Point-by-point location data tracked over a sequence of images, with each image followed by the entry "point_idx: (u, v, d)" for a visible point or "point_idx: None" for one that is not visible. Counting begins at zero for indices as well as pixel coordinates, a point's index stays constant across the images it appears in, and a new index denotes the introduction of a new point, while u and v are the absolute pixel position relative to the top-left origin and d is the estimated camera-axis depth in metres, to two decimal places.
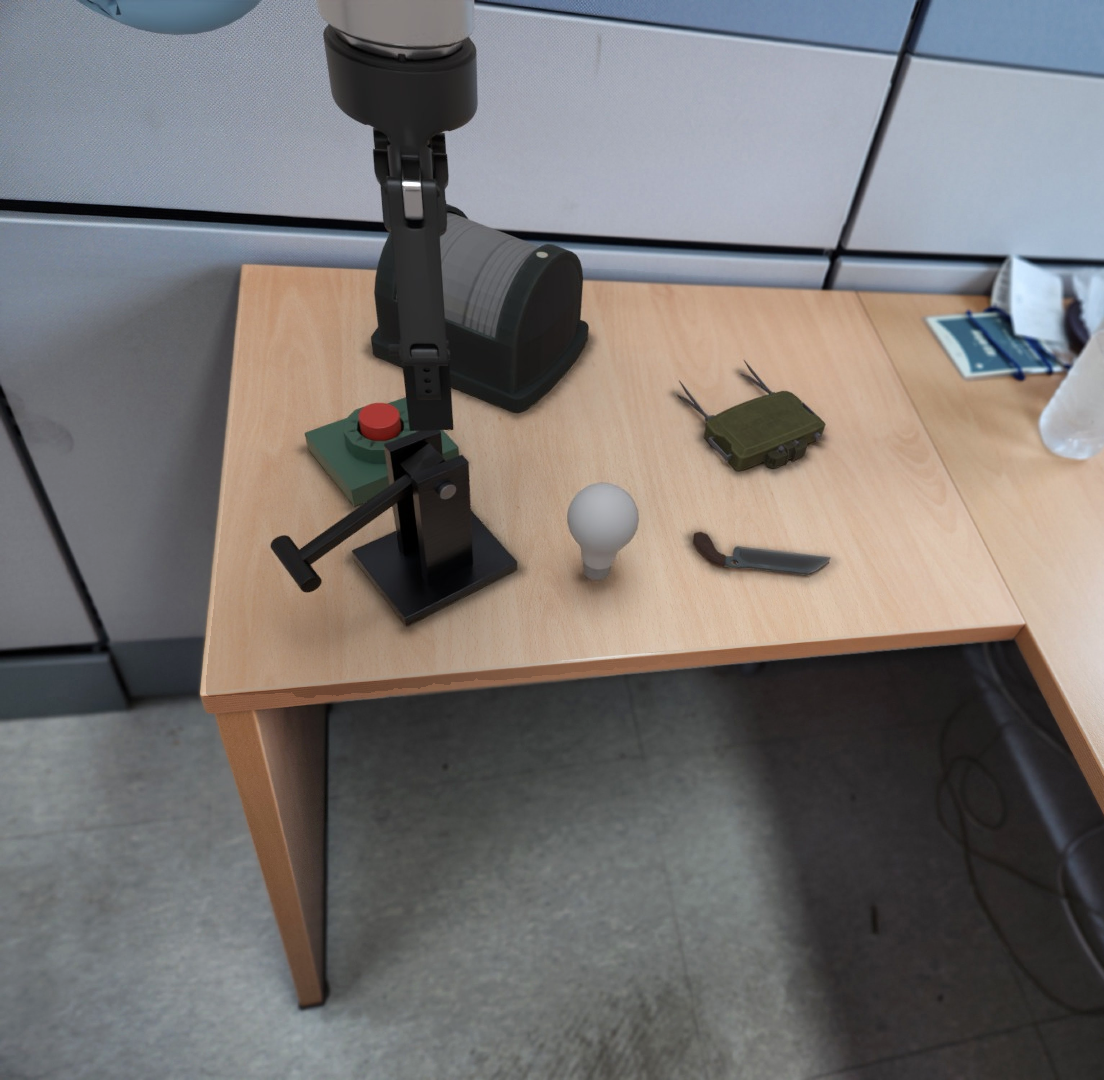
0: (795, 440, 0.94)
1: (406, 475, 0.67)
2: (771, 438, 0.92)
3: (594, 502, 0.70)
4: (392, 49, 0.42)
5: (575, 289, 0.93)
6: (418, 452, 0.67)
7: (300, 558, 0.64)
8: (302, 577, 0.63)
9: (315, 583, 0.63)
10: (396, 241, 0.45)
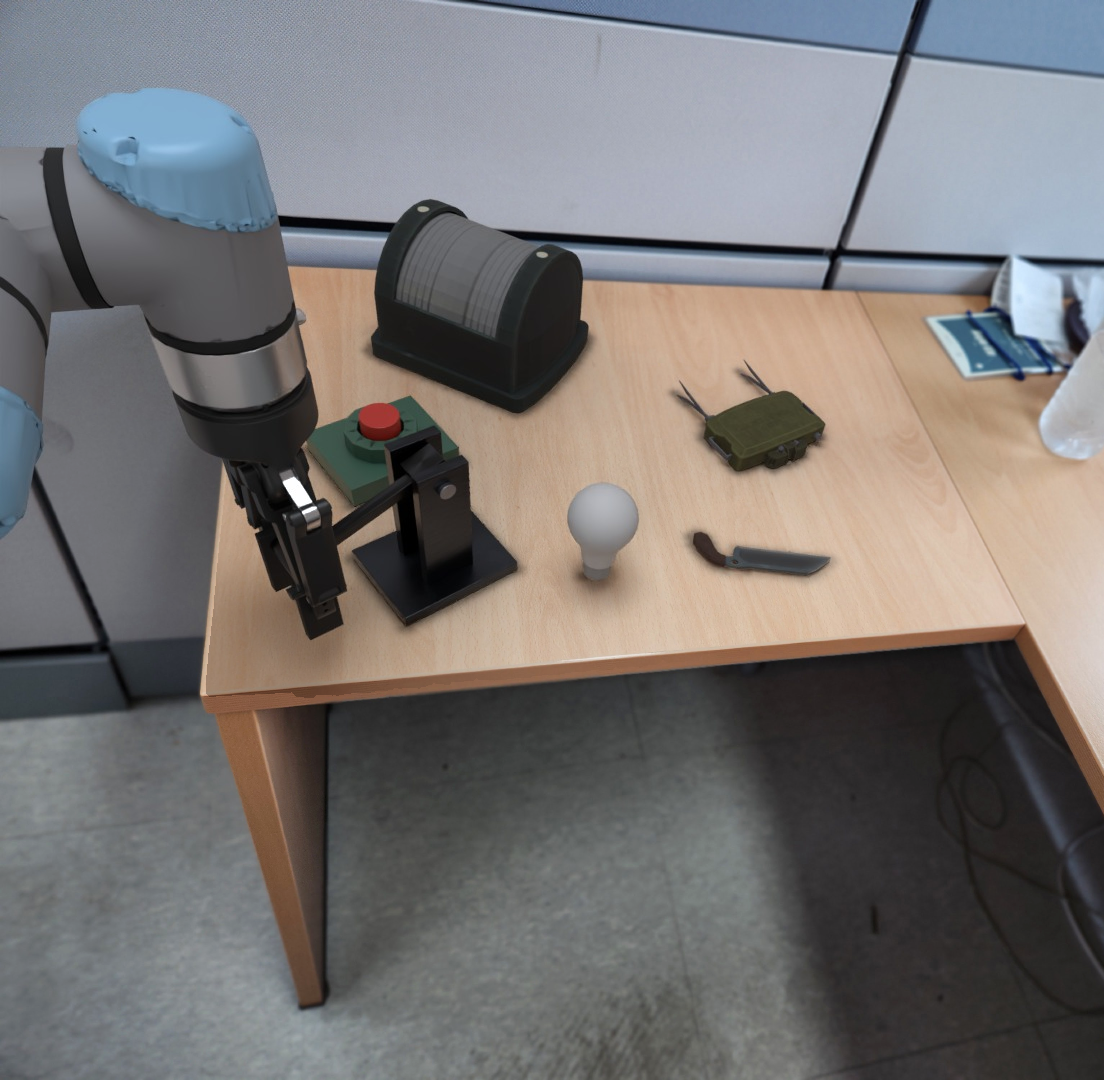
0: (795, 440, 0.94)
1: (406, 475, 0.67)
2: (771, 438, 0.92)
3: (594, 502, 0.70)
4: None
5: (575, 289, 0.93)
6: (418, 452, 0.67)
7: None
8: None
9: None
10: (301, 547, 0.55)
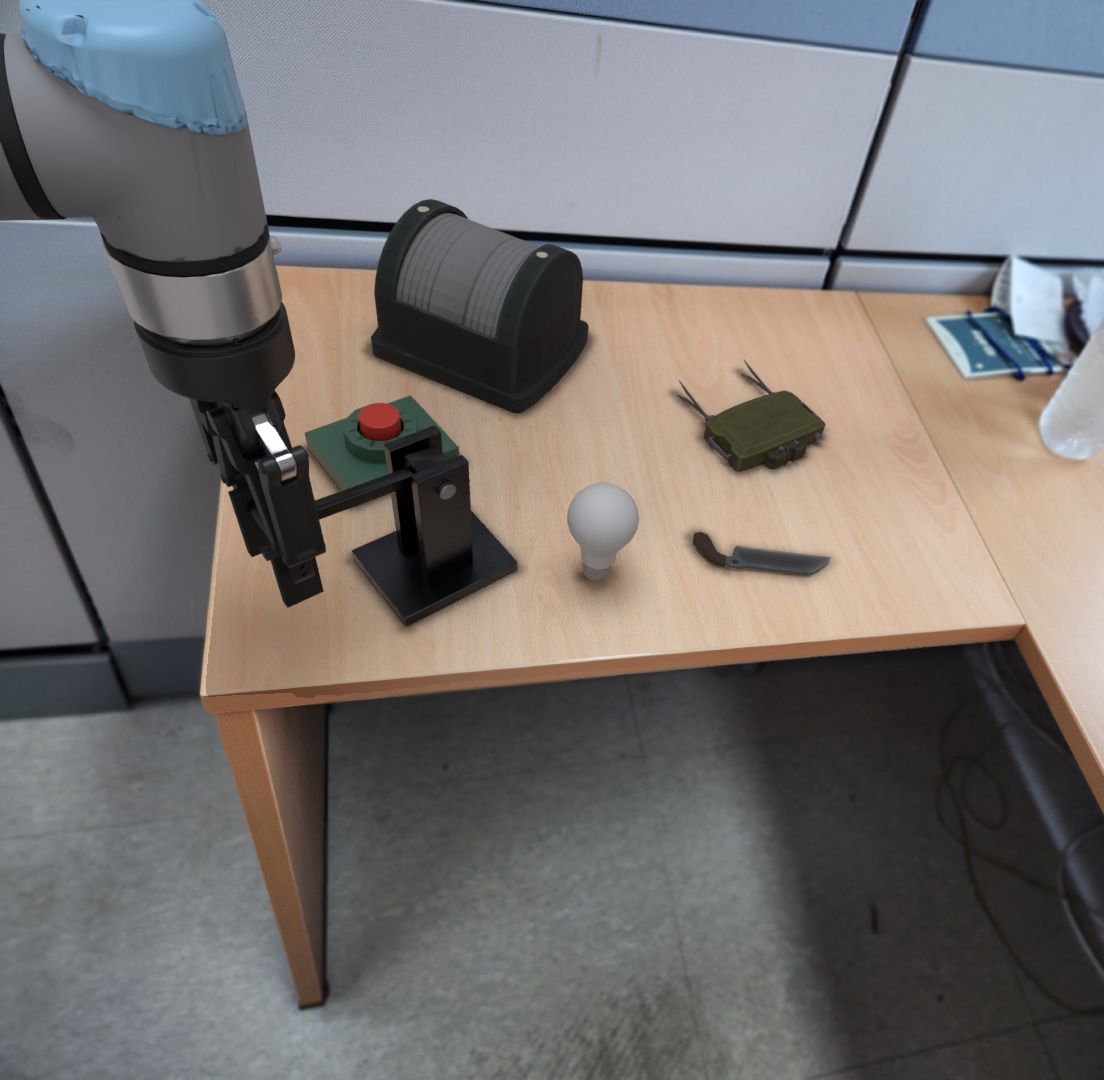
0: (795, 440, 0.94)
1: (407, 469, 0.66)
2: (771, 438, 0.92)
3: (594, 502, 0.70)
4: (226, 337, 0.45)
5: (575, 289, 0.93)
6: (424, 450, 0.67)
7: None
8: None
9: None
10: (275, 498, 0.51)
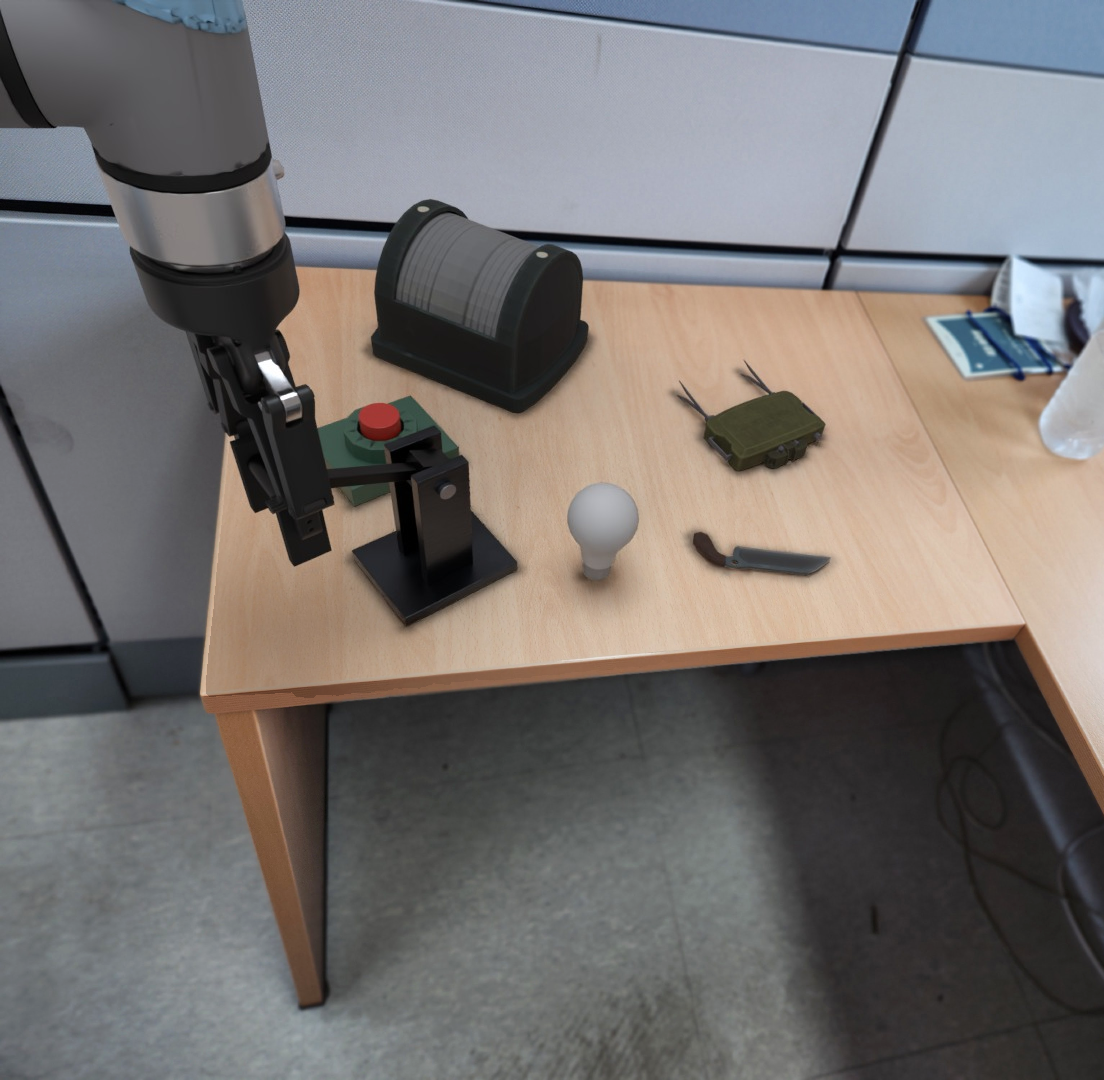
0: (795, 440, 0.94)
1: (409, 463, 0.66)
2: (771, 438, 0.92)
3: (594, 502, 0.70)
4: (227, 265, 0.43)
5: (575, 289, 0.93)
6: (428, 450, 0.67)
7: None
8: None
9: None
10: (280, 442, 0.48)
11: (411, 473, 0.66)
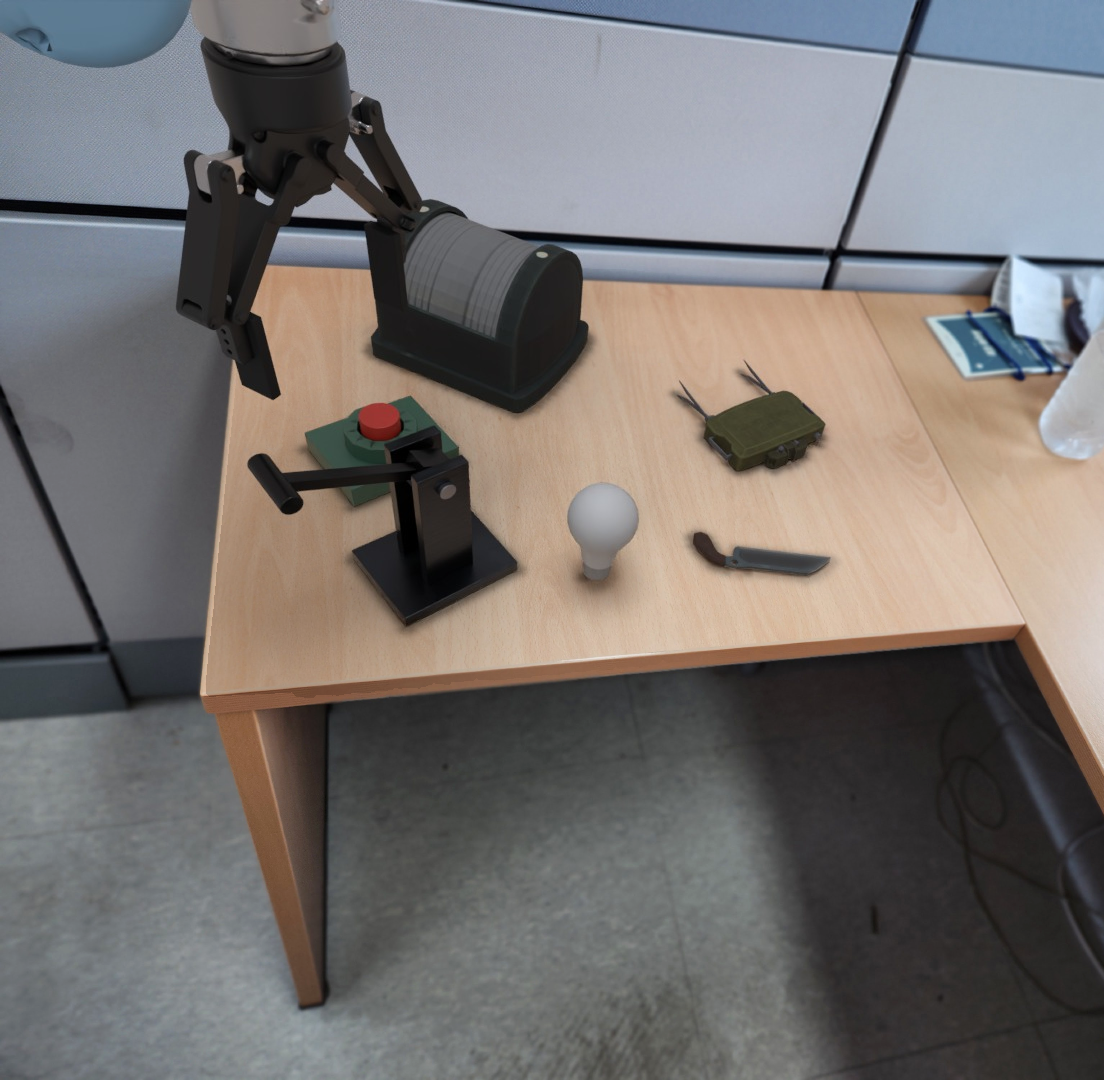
0: (795, 440, 0.94)
1: (409, 463, 0.66)
2: (771, 438, 0.92)
3: (594, 502, 0.70)
4: (222, 46, 0.46)
5: (575, 289, 0.93)
6: (428, 450, 0.67)
7: (287, 479, 0.58)
8: (290, 493, 0.57)
9: (295, 507, 0.57)
10: (190, 207, 0.49)
11: (411, 473, 0.66)
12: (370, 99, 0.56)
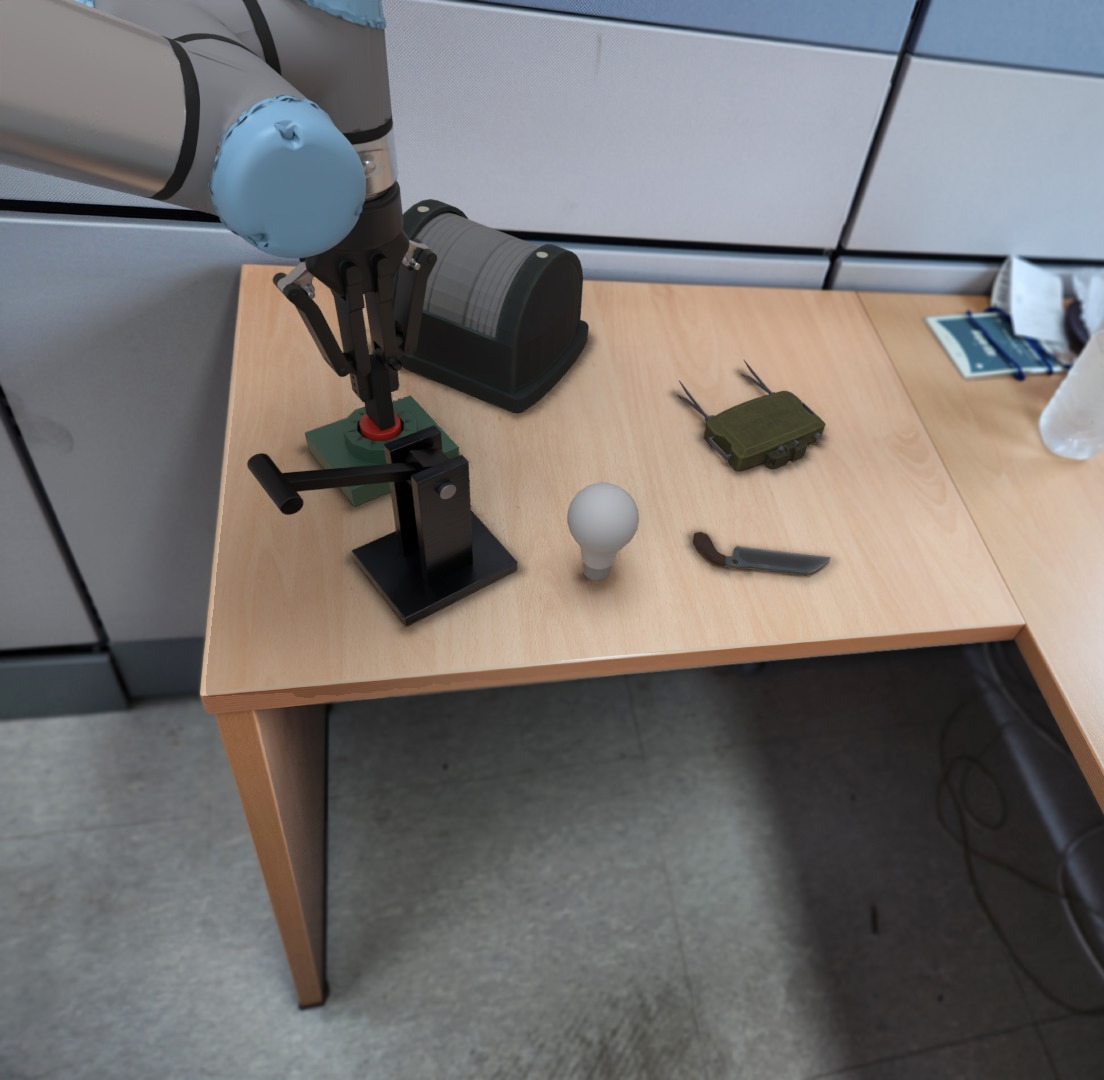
0: (795, 440, 0.94)
1: (409, 463, 0.66)
2: (771, 438, 0.92)
3: (594, 502, 0.70)
4: None
5: (575, 289, 0.93)
6: (428, 450, 0.67)
7: (287, 479, 0.58)
8: (290, 493, 0.57)
9: (295, 507, 0.57)
10: (295, 306, 0.68)
11: (411, 473, 0.66)
12: (432, 251, 0.71)
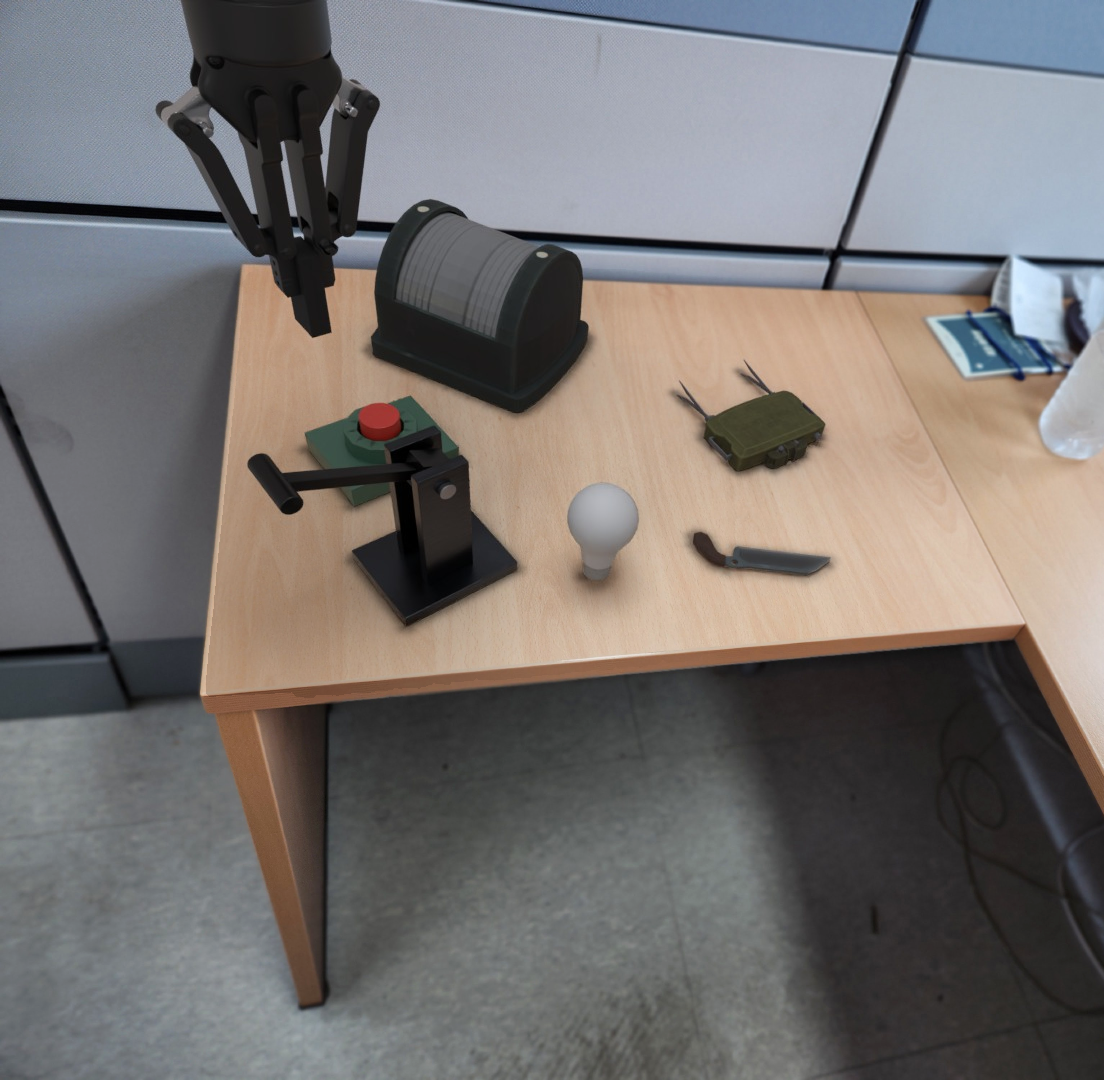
0: (795, 440, 0.94)
1: (409, 463, 0.66)
2: (771, 438, 0.92)
3: (594, 502, 0.70)
4: None
5: (575, 289, 0.93)
6: (428, 450, 0.67)
7: (287, 479, 0.58)
8: (290, 493, 0.57)
9: (295, 507, 0.57)
10: (190, 153, 0.52)
11: (411, 473, 0.66)
12: (373, 94, 0.55)
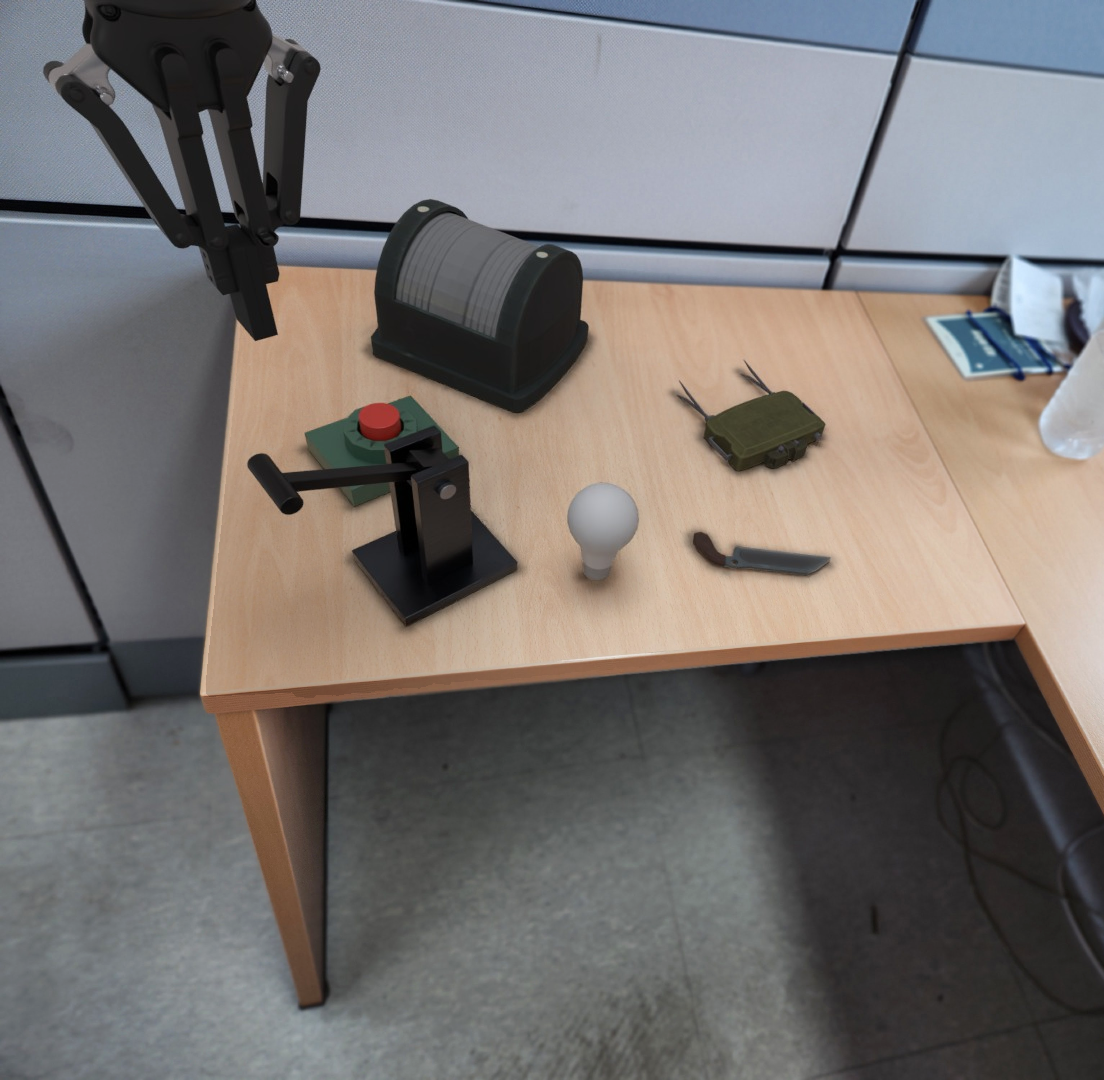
0: (795, 440, 0.94)
1: (409, 463, 0.66)
2: (771, 438, 0.92)
3: (594, 502, 0.70)
4: None
5: (575, 289, 0.93)
6: (428, 450, 0.67)
7: (287, 479, 0.58)
8: (290, 493, 0.57)
9: (295, 507, 0.57)
10: None
11: (411, 473, 0.66)
12: None
